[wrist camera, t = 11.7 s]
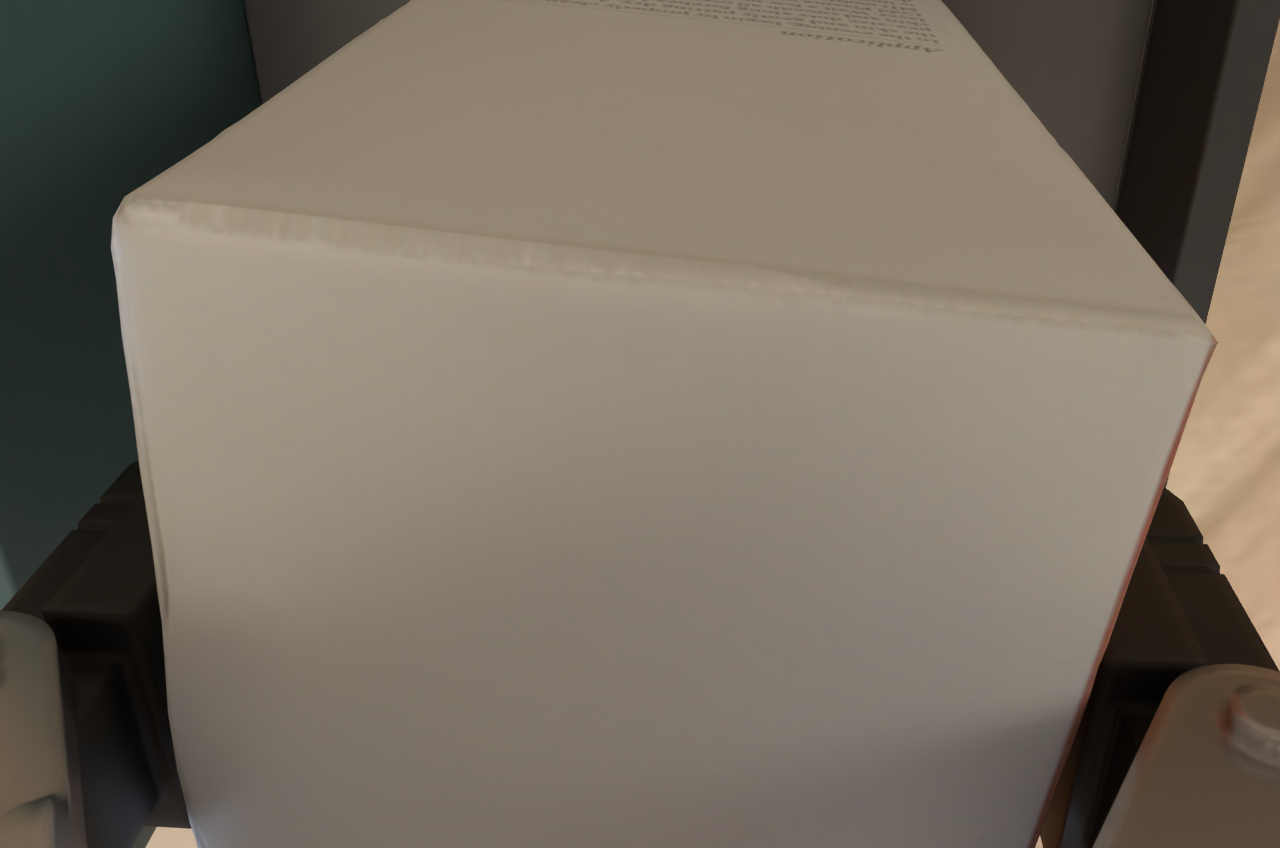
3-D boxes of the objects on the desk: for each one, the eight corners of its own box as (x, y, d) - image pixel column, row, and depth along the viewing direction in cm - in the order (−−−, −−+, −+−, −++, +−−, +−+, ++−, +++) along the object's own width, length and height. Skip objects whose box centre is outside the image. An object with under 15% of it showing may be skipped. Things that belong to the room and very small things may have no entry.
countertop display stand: (1114, -265, 22) (1750, -294, 8) (1014, 371, 28) (1264, 967, 14) (314, -248, 23) (-354, -249, 9) (395, 357, 29) (77, 893, 16)
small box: (840, 426, 21) (934, 1175, 10) (495, 388, 22) (212, 1079, 10) (930, -46, 17) (1254, 329, 6) (505, -87, 18) (55, 198, 6)
